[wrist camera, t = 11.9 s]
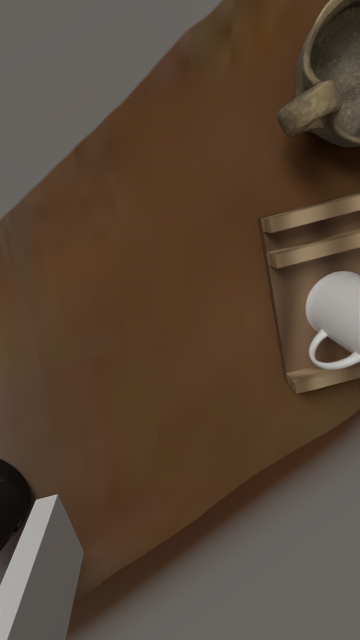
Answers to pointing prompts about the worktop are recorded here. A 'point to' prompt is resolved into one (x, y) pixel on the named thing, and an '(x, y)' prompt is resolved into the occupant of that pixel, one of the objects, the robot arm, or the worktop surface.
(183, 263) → the worktop surface
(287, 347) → the rack
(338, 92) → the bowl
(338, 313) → the mug
